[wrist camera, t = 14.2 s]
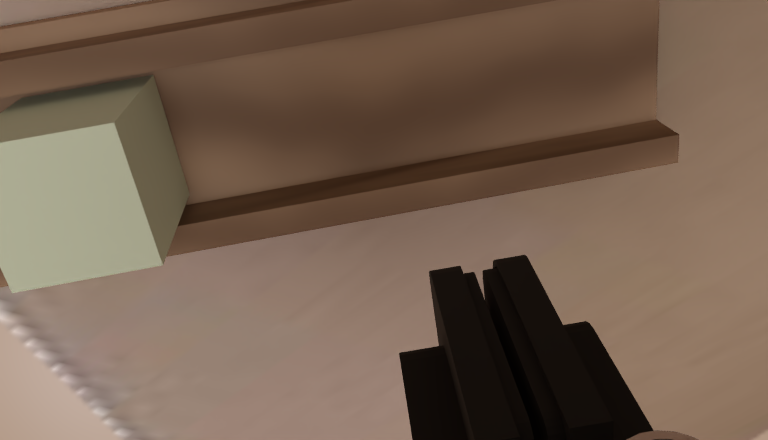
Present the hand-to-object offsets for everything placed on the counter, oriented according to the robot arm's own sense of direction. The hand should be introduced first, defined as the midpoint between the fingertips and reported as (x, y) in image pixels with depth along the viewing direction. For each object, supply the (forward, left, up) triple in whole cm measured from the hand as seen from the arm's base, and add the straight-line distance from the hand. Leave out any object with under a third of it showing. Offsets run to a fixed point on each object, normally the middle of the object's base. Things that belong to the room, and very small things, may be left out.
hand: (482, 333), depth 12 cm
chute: (0, -3, -18) cm, 18 cm away
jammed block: (0, -11, -17) cm, 20 cm away
